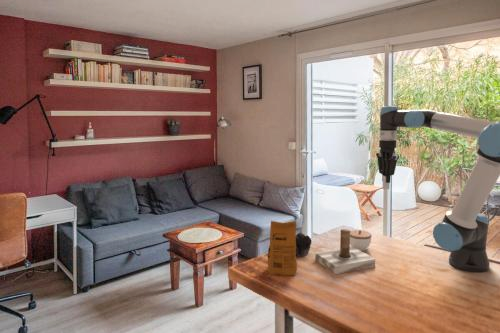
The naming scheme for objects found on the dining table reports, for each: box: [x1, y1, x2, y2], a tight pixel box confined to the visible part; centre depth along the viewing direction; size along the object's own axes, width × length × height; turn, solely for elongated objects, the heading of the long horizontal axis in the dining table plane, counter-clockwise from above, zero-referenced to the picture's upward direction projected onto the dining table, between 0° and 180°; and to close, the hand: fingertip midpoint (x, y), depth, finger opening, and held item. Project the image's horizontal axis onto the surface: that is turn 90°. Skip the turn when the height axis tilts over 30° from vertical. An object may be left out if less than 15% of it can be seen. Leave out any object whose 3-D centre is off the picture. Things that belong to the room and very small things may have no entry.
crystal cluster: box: [296, 232, 312, 258], centre depth 177 cm, size 13×14×10 cm
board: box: [314, 246, 376, 275], centre depth 164 cm, size 16×20×4 cm
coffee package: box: [267, 220, 298, 277], centre depth 156 cm, size 10×12×22 cm
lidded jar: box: [350, 229, 372, 252], centre depth 181 cm, size 11×11×9 cm
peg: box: [339, 228, 351, 258], centre depth 163 cm, size 4×4×15 cm
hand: (385, 189), depth 177 cm, fingers closed
